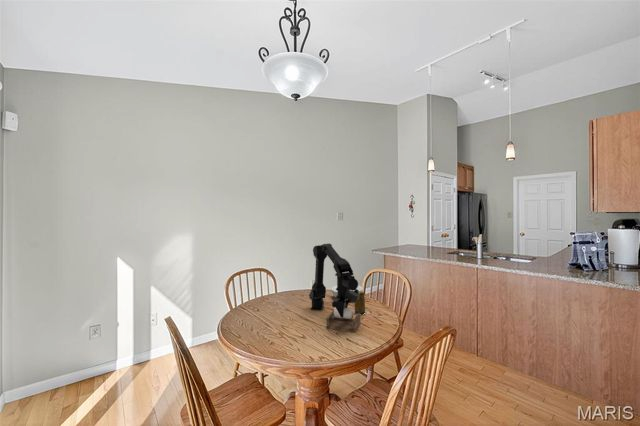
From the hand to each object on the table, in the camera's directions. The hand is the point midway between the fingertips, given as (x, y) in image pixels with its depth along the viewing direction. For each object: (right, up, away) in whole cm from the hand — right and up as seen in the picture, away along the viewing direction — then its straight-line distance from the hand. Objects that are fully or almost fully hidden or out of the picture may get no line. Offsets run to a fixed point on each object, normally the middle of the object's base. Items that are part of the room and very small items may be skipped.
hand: (343, 315), depth 156 cm
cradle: (0, -6, 0) cm, 6 cm away
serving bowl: (+6, -4, +46) cm, 47 cm away
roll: (0, +1, 0) cm, 1 cm away
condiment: (+11, -5, +18) cm, 22 cm away
